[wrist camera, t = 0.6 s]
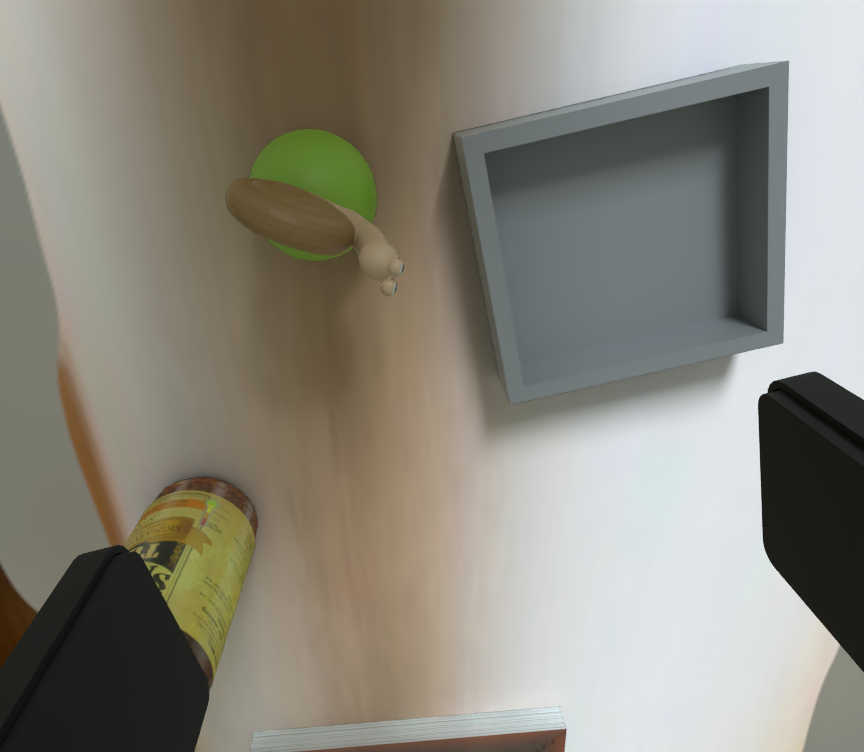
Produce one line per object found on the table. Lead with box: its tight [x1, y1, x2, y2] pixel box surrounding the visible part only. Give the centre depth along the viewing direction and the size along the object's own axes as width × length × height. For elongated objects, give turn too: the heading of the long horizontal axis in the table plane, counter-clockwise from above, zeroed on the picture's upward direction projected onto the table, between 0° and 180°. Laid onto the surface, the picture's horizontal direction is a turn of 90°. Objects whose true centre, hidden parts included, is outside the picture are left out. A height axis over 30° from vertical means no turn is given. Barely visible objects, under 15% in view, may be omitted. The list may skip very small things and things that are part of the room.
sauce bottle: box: [124, 477, 258, 690], centre depth 28 cm, size 6×6×20 cm
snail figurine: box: [225, 129, 404, 296], centre depth 24 cm, size 5×6×12 cm
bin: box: [453, 61, 789, 405], centre depth 30 cm, size 13×14×4 cm
